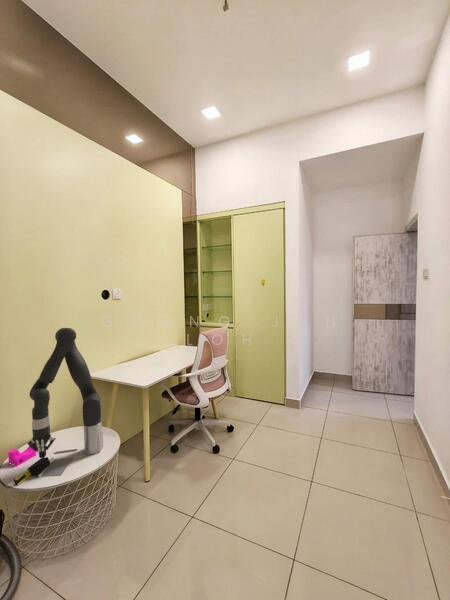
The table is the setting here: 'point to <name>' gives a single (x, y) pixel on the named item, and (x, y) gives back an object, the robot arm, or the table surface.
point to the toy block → (20, 456)
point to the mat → (55, 467)
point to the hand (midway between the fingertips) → (42, 457)
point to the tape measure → (33, 469)
